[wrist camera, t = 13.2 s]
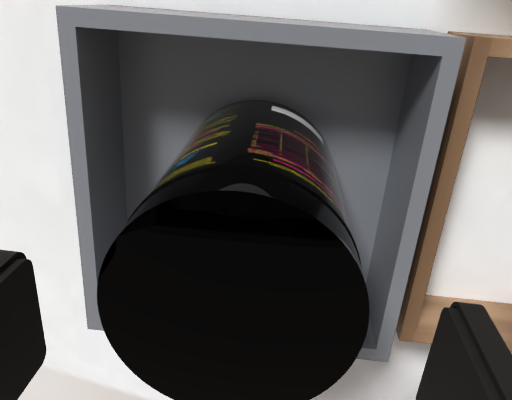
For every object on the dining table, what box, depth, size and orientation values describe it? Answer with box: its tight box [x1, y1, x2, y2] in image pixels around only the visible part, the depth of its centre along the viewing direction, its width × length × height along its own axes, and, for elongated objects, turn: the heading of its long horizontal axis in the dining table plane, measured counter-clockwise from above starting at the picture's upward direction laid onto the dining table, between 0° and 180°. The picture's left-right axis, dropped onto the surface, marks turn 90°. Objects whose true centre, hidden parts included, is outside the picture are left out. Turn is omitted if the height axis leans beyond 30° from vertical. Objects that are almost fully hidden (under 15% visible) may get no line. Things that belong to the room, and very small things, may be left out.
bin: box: [56, 5, 466, 362], centre depth 19 cm, size 13×13×4 cm
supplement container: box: [97, 100, 370, 400], centre depth 16 cm, size 7×7×10 cm
